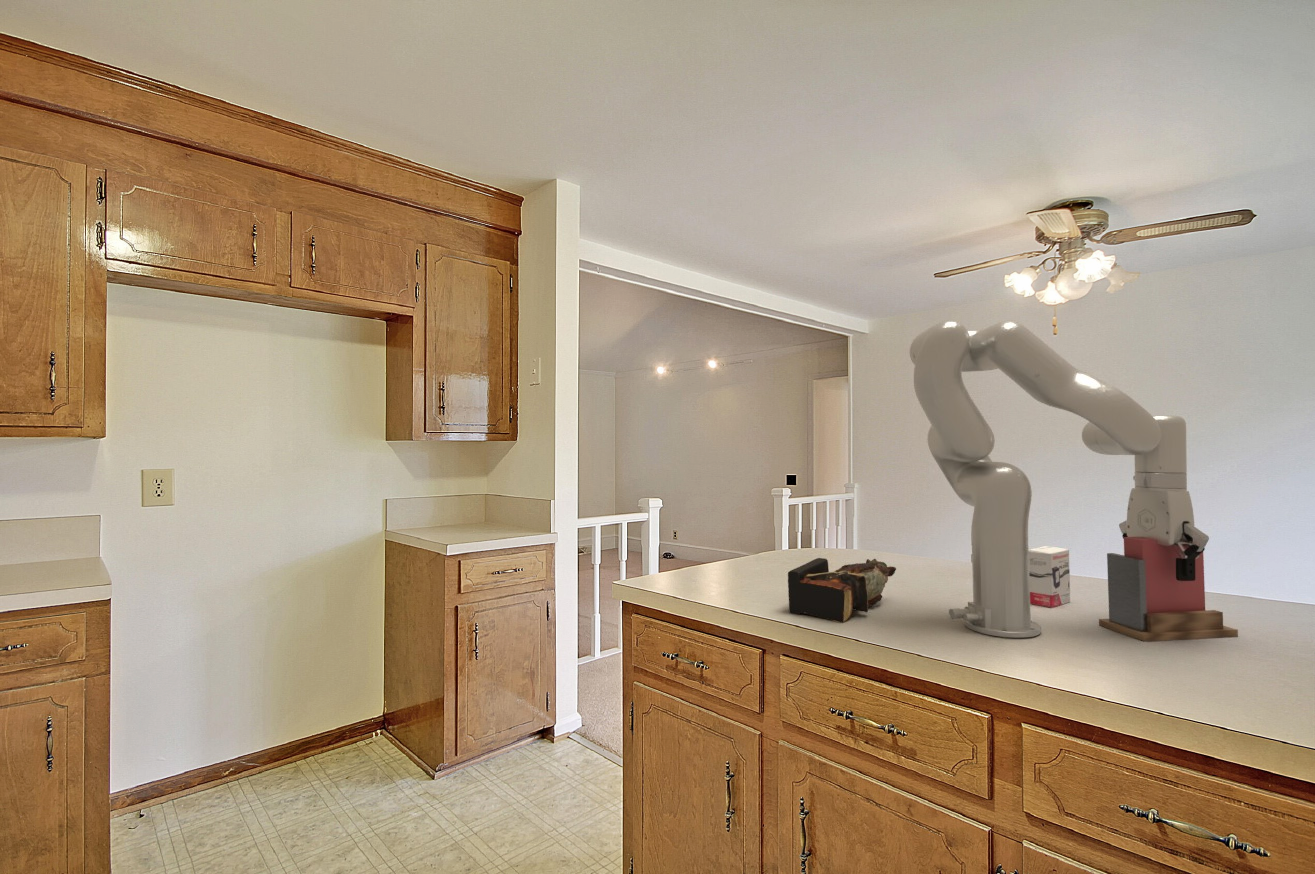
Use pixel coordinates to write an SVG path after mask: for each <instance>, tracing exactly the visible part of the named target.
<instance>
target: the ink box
mask: <svg viewBox="0 0 1315 874" xmlns="http://www.w3.org/2000/svg"><path fill="white" fill-rule="evenodd" d="M1070 570H1071V569H1070V549H1068V548H1063V547H1062V548H1061V547H1056V546H1049V545H1043V546H1040V547H1034V548H1031V549H1030V548H1029V579H1030V605H1035V606H1042V607H1047V608H1053V609H1054V608H1055V607H1058V606H1061V605H1065V604H1067V603H1070V602H1071V576H1070V575H1071V573H1070Z"/></svg>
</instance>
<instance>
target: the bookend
mask: <svg viewBox="0 0 1315 874" xmlns="http://www.w3.org/2000/svg"><path fill="white" fill-rule="evenodd" d="M896 570H897V568H896V567H895V566H888V565H887V564H886V563H885V562H884V561H878V560H877V559H876V558H873V559H872V560H870V559H869V558H866V559H865V562H860V563H852V564H844V565H842V566H841V567H840V568H838V569H836V570H834V571H829V560H828V559H827V558H822V557H817V558H815V559H812V560H811V561H809V562H807V563H805V564H803V565H800V566H798V567H796V568H793V569H791V570H789V571H788V572H787V584H788V585H787V587H788V590H787V591H788V608H789V610H788V612H789V614H799V615H803V614H806V615H809V616H814V617H817V618H821V619H824V620H825V619H826V620H830V621H832V622H837V623H842V624H843V623H844V622H846V621H847V620H851V618H852V616H853V615H852V613H853V610H855V611H858V612H862V613H863V612H864V613H868V611H869V607H871V606H873V605H876V604H877V603H878V602H879V601H881V600H882V598H883V595H882V594H883V591H884V588H885V587H886V584H887V583H888V581H889V577H890V578H891V577H893V576H894V574H895V573H896Z"/></svg>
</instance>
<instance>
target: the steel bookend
mask: <svg viewBox="0 0 1315 874" xmlns="http://www.w3.org/2000/svg"><path fill="white" fill-rule="evenodd" d="M1106 560H1107V561H1106V563H1107V564H1106V565H1107V591H1108V619H1109V621H1110V622H1113V623H1116V624H1119V625H1122V626H1125V627H1128V628H1131V629H1134V630H1137V631H1140V632H1147V602H1146V572H1145V560H1144V559H1140V558H1135V557H1130V556H1125V555H1124V554H1119V553H1114V552H1107V553H1106Z"/></svg>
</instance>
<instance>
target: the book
mask: <svg viewBox="0 0 1315 874" xmlns="http://www.w3.org/2000/svg"><path fill="white" fill-rule="evenodd" d="M1192 545H1193V544H1192ZM1183 548H1184V550H1186V549H1185V547H1183ZM1123 555H1125V556H1130V557H1135V558H1140V559H1144V560H1145V572H1146V602H1147V613H1166V612H1186V611H1206V593H1205V591H1206V588H1205V561H1204V551H1203V552H1202V553H1201V554H1200V555H1199V558H1197V559H1195V578H1196V579H1195V580H1194V581H1178V580H1177V579H1176V558H1180V557H1179V555H1178V554H1177V552H1176V551H1175V550H1174V548H1173V547H1172V545H1171V546H1163V545H1159V544H1158V543H1157V540H1156V539H1150V538H1144V537H1124V539H1123Z"/></svg>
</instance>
